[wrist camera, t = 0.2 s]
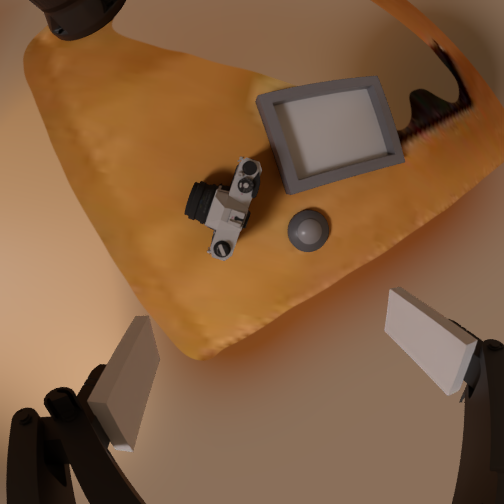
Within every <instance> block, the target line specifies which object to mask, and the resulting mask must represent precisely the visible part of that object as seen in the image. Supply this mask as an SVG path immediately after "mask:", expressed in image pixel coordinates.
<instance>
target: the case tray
mask: <svg viewBox="0 0 504 504" xmlns="http://www.w3.org/2000/svg"><path fill="white" fill-rule="evenodd" d="M255 102H256V105H257V107H258V110H259V113H260V116H261V119H262V122H263V124H264V127H265V130H266V133H267V136H268V139H269V142H270V145H271V148H272V151H273V154H274V157H275V160H276V163H277V166H278V169H279V172H280V175H281V179H282V182H283V185H284V188H285V191H286V194H289V195H292V194H296V193H299V192H302V191H305V190H308V189H312V188H315V187H318V186H322V185H325V184H328V183H332V182H335V181H339V180H342V179H345V178H349V177H352V176H356V175H359V174H363V173H367V172H370V171H374V170H377V169H381V168H385V167H389V166H392V165H396V164H400V163H404V162H405V159H404V155H403V151H402V148H401V144H400V140H399V137H398V133H397V130H396V127H395V124H394V121H393V117H392V114H391V111H390V108H389V105H388V103H387V100H386V97H385V94H384V92H383V89H382V86H381V84H380V81H379V79H378V76H369V77H358V78H349V79H341V80H333V81H327V82H320V83H314V84H308V85H303V86H297V87H292V88H288V89H283V90H278V91H274V92H270V93H265V94H261V95H258V96H257V99H256V101H255Z"/></svg>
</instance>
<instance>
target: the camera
mask: <svg viewBox="0 0 504 504" xmlns="http://www.w3.org/2000/svg"><path fill="white" fill-rule="evenodd" d="M243 158H244V157H240V160H242V161H241V162H240V163H239V165H237V168H236V170H235V173H234V176H233V179H232V182H231V184H230V187H229V186H224V185H222V183H221V184H220V185H219V186H216V185H215V184H213V185H208V184H206V183H205V182H202V181H201V182H200V183H197V182H195V183H194V185H193V188H192V190H191V193H190V195H189V198H188V201H187V205H186V209H185V215H188V216H189V217H188V218H189V219H192V220H194V219H196V220H198V221H200V223H201V224H203V223H204V224H205V226H208V227H209V228H211V229H213V230H214V232H213V233H214V234H213V237H212V243H211V248H210V249H211V250H210V249H209V250H208V251H207V253H209V254H210V253H211V254H212V257H214V258H217V259H220V260H223V261H225V260H227V259H228V258H229V257H230V256H232V253H233V251H234V248H235V245H236V242H237V239H238V236H239V233H240V231H241V229H243V228H246V225H247V222H248V219H249V217H250V214H251V213H250V212H249V210H248V208H249V205H250V202H251V200H252V198H255V197H256V195H257V193H258V190H259V185H260V175H261V172H262V169H261V165H260V162H258V161H255V160H253V159H250V158H245V159H243ZM240 160H238V161H240ZM208 248H209V247H208Z"/></svg>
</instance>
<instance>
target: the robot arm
mask: <svg viewBox="0 0 504 504" xmlns="http://www.w3.org/2000/svg"><path fill="white" fill-rule="evenodd" d="M29 1H31V2H32V3H33V4H34V5H36V6H37V7H38V8H39V9H41V10H42V11H43V12H44V14H45V17H46V20H47V23H48V26H49V28H50V30H51V32H52V33H53V34H54V35H55V36H57V37H58V38H59V39H61V40H65V41H71V40H77V39H80V38H83V37H86V36H88V35H90V34H92V33H94V32H95V31H97V30H99V29H100V28H101V27H103V26H104V25H106V24H107V23H108V22H109V21H110V20H111V19H112V18H114V16H115V15H116V14H117V13H118V12H119V11H120V10H121V8H122V7H123V5H124V3H125V1H126V0H29ZM384 331H385V332H386V333H387V334H388V335H389V336H390V337H391V338H392V339H393V340H394V341H395V342H396V343H397V344H398V345H399V346H400V347H401V348H402V349H403V350H404V351H405V352H406V353H407V354H408V355H409V356H410V357H411V358H412V359H413V360H414V361H415V362H416V363H417V364H418V365H419V366H420V367H421V368H422V369H423V370H424V371H425V373H426V374H428V376H429V377H430V378H431V379H432V380H433V381H434V382H435V383H436V384H437V385H438V386H439V387H440V388H441V389H442V390H443V391H444V392H445V393H446V395H447V396H449V395H451V394H453V393H455V392H457V391H458V390H459V389H460V387H461V385H462V382H463V380H464V381H465V382H466V383H467V386H466V388H465V390H464V392H463V395H462V397H461V399H460V402H462V400H463V399H464V398H465V402H464V403H465V416H464V431H463V442H462V451H461V459H460V466H459V472H458V478H457V483H456V488H455V493H454V497H453V501H452V504H504V345H503V344H502V343H501V342H499V341H497V340H493V339H488V340H485V341H484V342H483V341H482V340H480V339H479V338H478V337H476V336H475V335H473V334H472V333H471V332H469V331H466V329H465V328H464V327H461V325H459V324H458V323H456V322H455V321H453V320H450V319H447V318H446V317H444V316H443V315H441V314H440V313H438V312H437V311H436V310H434V309H433V308H431V307H430V306H428V305H427V304H425V303H424V302H422V301H421V300H419V299H418V298H416V297H415V296H413V295H412V294H410V293H409V292H407V291H406V290H404V289H403V288H401V287H397V288H392V289H390V291H389V300H388V309H387V316H386V323H385V330H384ZM159 361H160V357H159V354H158V350H157V346H156V342H155V338H154V335H153V331H152V327H151V322H150V318H149V316H136V317H135V318H134V320H133V321H132V323H131V325H130V326H129V328H128V329H127V331H126V333H125V335H124V336H123V338H122V339H121V341H120V343H119V345H118V346H117V348H116V350H115V351H114V353H113V355H112V357H111V359H110V360H109V362H108V364H107V365H105V364H100V365H98V366H97V367H96V368H94V369H93V370H92V371H91V373H90V375H89V376H88V379H87V380H86V382H85V383H84V385H83V386H82V388H81V390H80V392H79V393H78V395H77V396H76V394H75V393H74V391H73V390H72V389H70V388H67V387H60V388H56V389H54V390H52V391H50V392H49V393H48V394H47V395H46V397H45V398H44V405H45V407H46V408H47V410H48V412H49V413H50V415H51V417H40V416H39V415H38V413H37V412H36V411H35V410H34V409H32V408H23V409H21V410H19V411H17V412H16V413H15V414H14V416H13V418H12V423H11V429H10V437H9V446H8V457H7V481H6V482H7V483H6V487H7V489H6V490H7V504H76V502H75V497H74V492H73V486H72V480H71V475H70V467H69V464H71V467H72V469H73V471H74V473H75V476H76V478H77V480H78V482H79V484H80V486H81V488H82V490H83V492H84V494H85V496H86V498H87V499H88V501H89V503H90V504H146V503H145V502H144V500H143V499H142V498H141V497H140V495H139V494H138V493H137V491H136V490H135V489H134V487H133V486H132V485H131V483H130V482H129V481H128V479H127V478H126V476H125V475H124V473H123V472H122V470H121V469H120V467H119V466H118V464H117V463H116V462H115V460H114V458H113V456H112V455H111V453H110V452H109V450H108V449H107V448H108V445H109V442H111V444H112V445H113V447H114V448H115V449H116V450H121V451H129V452H133V450H134V446H135V442H136V439H137V435H138V431H139V428H140V424H141V421H142V417H143V414H144V410H145V407H146V403H147V400H148V396H149V393H150V390H151V387H152V383H153V380H154V377H155V374H156V370H157V367H158V364H159Z"/></svg>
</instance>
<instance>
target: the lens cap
mask: <svg viewBox="0 0 504 504" xmlns="http://www.w3.org/2000/svg"><path fill="white" fill-rule="evenodd" d="M328 234H329V226H328V223H327V221H326V219H325V218H324V216H323V215H321V214H320V213H318V212H316V211H313V210H303V211H300V212H298V213H297V214H295V215H294V216H293V217H292V219H291V220H290V222H289V225H288V237H289V240H290V242H291V243H292V244H293V245H294V246H295V247H296V248H297V249H299V250H301V251H304V252H312V251H315V250H318V249H319V248H321V247H322V246H323V245H324V243H325V242H326V240H327V238H328Z"/></svg>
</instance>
